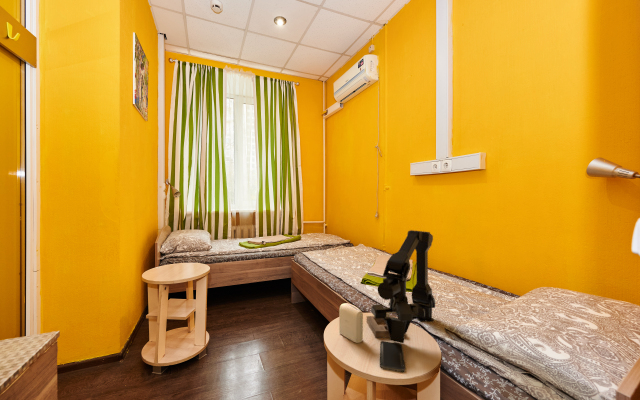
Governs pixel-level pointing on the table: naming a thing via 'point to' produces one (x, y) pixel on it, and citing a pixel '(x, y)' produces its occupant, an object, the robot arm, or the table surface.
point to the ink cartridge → (397, 330)
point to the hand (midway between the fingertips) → (397, 333)
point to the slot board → (378, 327)
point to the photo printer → (351, 322)
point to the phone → (392, 356)
